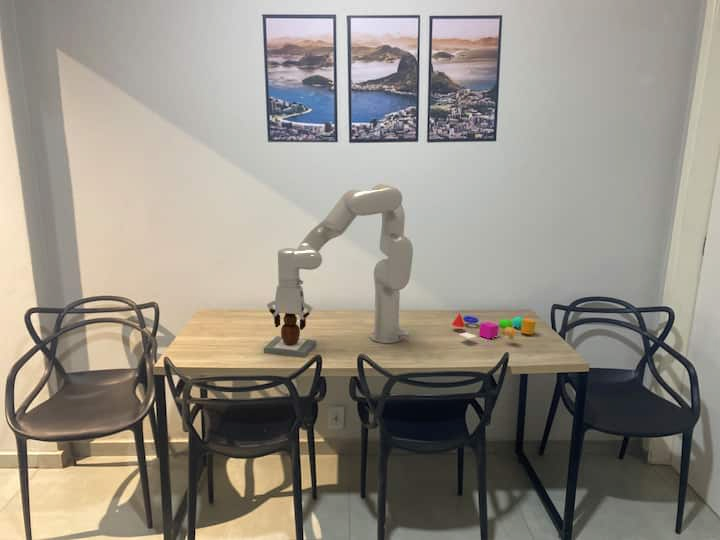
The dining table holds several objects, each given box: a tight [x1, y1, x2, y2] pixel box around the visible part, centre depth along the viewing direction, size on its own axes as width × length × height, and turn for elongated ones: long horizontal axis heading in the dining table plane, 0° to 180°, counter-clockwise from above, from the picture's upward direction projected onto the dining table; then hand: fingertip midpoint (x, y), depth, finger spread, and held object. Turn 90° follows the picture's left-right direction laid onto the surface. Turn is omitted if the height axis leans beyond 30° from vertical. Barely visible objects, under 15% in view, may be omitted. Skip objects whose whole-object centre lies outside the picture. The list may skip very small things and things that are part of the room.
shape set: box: [451, 313, 536, 340], centre depth 211 cm, size 29×35×7 cm
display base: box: [263, 335, 317, 359], centre depth 194 cm, size 16×12×2 cm
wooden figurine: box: [280, 313, 301, 345], centre depth 192 cm, size 7×6×15 cm
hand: (290, 327), depth 192 cm, fingers open, 9 cm apart
